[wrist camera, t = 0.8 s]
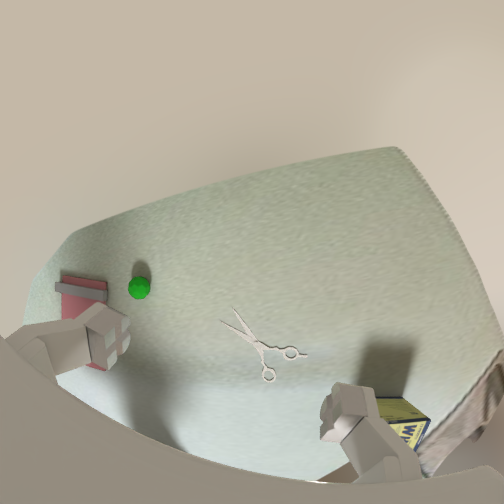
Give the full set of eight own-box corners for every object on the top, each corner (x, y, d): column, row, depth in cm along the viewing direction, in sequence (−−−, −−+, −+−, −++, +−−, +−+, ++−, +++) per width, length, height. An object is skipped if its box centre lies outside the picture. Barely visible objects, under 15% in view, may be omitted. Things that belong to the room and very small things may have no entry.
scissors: (274, 388, 56) (208, 330, 57) (274, 387, 57) (209, 330, 57) (308, 356, 56) (242, 296, 57) (307, 355, 57) (242, 295, 58)
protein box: (352, 395, 56) (377, 424, 40) (402, 395, 56) (433, 419, 40) (340, 430, 55) (359, 463, 39) (389, 428, 55) (415, 455, 39)
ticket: (108, 339, 57) (102, 342, 54) (61, 326, 57) (55, 328, 54) (110, 282, 58) (103, 283, 55) (62, 275, 58) (55, 274, 55)
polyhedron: (156, 293, 58) (148, 294, 53) (138, 301, 58) (130, 303, 53) (147, 272, 58) (139, 272, 53) (130, 281, 58) (121, 282, 53)
